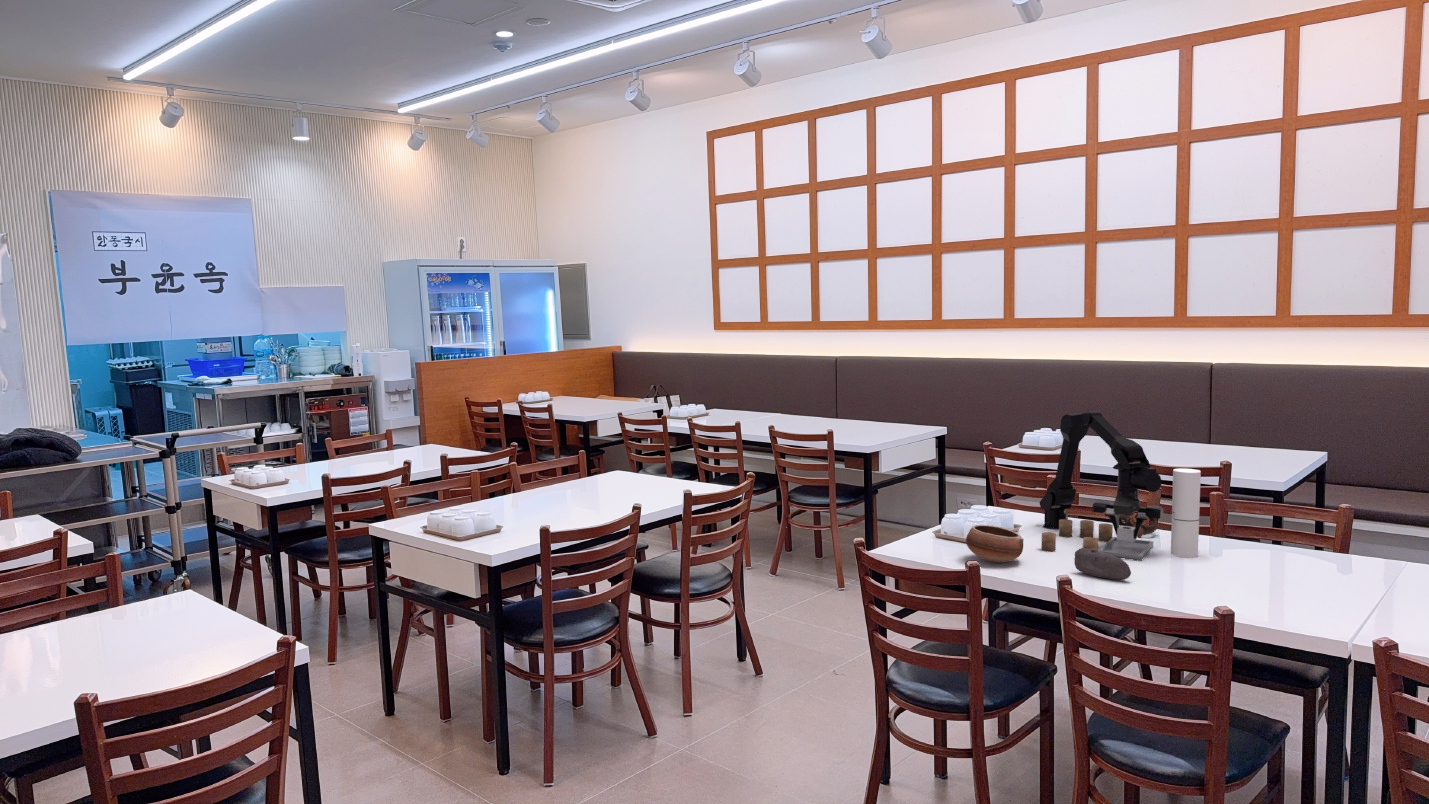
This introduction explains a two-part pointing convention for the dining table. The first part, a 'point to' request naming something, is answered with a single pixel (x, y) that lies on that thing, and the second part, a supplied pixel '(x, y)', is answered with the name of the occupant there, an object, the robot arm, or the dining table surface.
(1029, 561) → the dining table surface
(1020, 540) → the bowl
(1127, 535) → the steel nut
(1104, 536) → the posts
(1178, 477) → the cylindrical container
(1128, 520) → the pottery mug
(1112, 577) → the perforated stone tool
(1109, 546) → the slate tray
